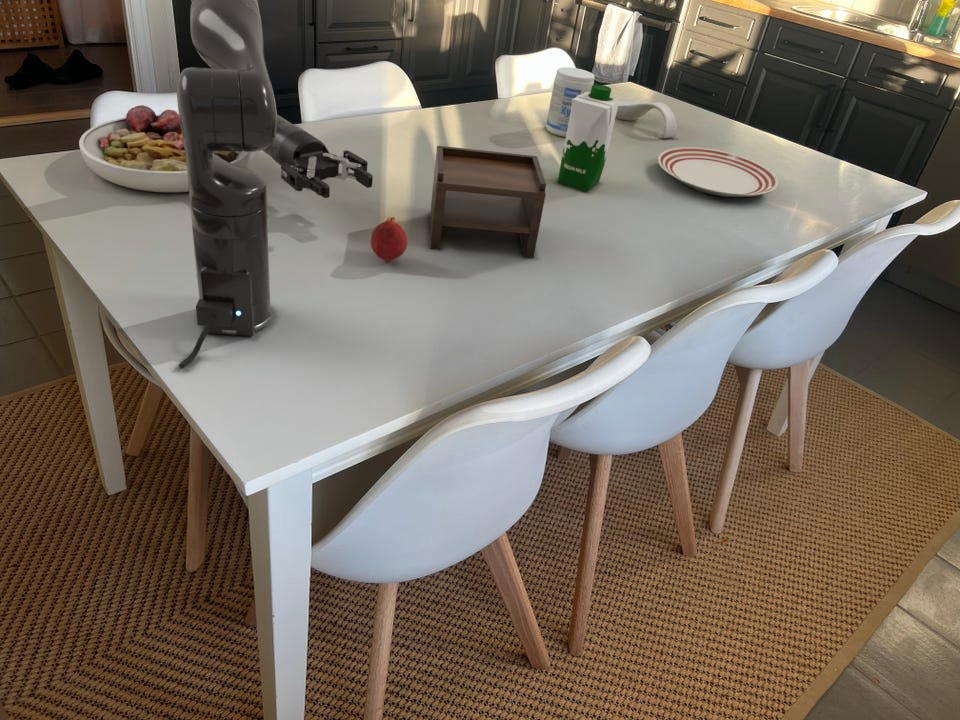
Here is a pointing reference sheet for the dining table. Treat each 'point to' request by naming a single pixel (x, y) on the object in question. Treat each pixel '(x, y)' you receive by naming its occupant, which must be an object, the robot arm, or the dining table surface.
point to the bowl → (144, 151)
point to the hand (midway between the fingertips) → (349, 187)
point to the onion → (389, 240)
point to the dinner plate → (718, 172)
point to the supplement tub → (566, 97)
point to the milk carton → (588, 138)
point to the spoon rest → (637, 109)
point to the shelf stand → (487, 193)
